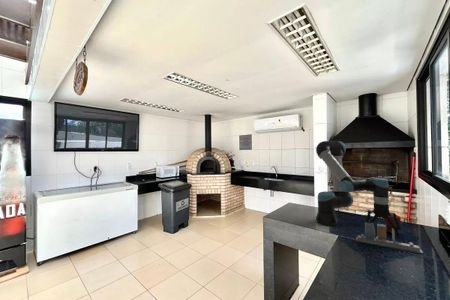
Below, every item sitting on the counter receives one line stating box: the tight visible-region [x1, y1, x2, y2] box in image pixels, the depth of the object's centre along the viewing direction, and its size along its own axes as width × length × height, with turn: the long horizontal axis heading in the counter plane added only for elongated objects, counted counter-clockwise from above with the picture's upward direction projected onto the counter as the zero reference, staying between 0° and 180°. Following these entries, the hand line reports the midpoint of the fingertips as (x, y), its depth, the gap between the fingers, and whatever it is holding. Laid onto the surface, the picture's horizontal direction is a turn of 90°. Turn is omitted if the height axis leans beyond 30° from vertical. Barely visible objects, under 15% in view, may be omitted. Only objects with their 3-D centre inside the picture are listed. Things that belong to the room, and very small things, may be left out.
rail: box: [355, 221, 424, 255], centre depth 114 cm, size 30×5×12 cm, turn 59°
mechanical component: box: [382, 214, 403, 234], centre depth 131 cm, size 12×10×10 cm
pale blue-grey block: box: [376, 223, 388, 240], centre depth 121 cm, size 5×4×9 cm
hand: (382, 238), depth 121 cm, fingers open, 10 cm apart
